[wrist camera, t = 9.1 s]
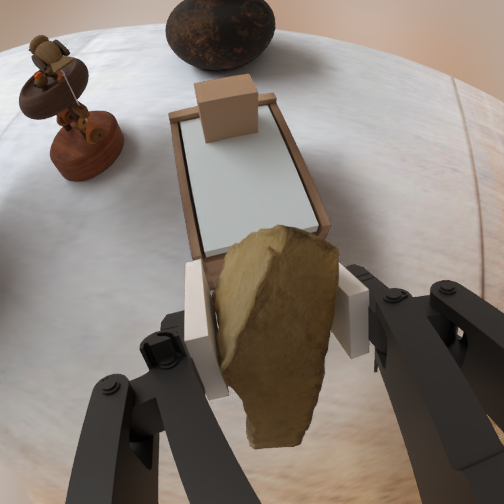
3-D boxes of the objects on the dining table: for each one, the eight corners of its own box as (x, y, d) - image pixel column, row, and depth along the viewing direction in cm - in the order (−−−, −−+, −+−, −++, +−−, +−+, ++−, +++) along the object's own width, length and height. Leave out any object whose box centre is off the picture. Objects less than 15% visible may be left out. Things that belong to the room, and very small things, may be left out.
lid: (206, 257, 25) (192, 218, 20) (181, 129, 31) (170, 83, 25) (316, 231, 26) (331, 188, 20) (267, 112, 32) (268, 66, 26)
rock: (332, 493, 12) (419, 305, 13) (173, 519, 7) (307, 215, 8) (218, 401, 21) (274, 270, 22) (100, 375, 16) (165, 212, 17)
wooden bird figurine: (149, 130, 41) (97, 11, 22) (106, 196, 37) (20, 86, 19) (77, 116, 43) (21, 26, 24) (38, 171, 40) (-37, 87, 21)
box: (207, 290, 31) (190, 254, 23) (183, 165, 38) (168, 113, 30) (314, 263, 32) (332, 220, 24) (271, 147, 39) (273, 92, 31)
